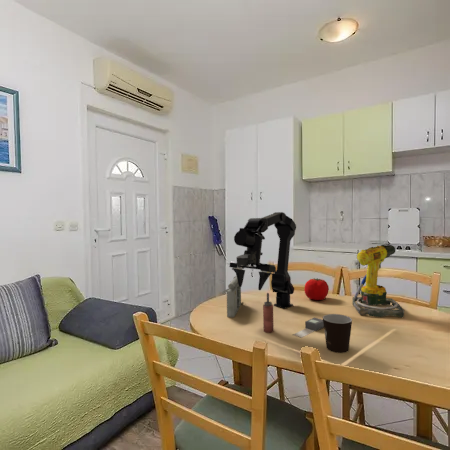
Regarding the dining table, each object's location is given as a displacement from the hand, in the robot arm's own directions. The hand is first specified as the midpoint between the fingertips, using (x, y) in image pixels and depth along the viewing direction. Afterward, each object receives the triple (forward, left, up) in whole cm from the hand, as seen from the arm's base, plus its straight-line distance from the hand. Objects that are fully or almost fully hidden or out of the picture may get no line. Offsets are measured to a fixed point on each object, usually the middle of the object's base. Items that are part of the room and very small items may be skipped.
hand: (249, 288), depth 123 cm
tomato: (-47, +1, -14) cm, 49 cm away
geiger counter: (-9, -18, -14) cm, 25 cm away
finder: (-12, +22, -13) cm, 28 cm away
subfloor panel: (-8, +17, -14) cm, 23 cm away
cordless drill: (-50, +29, -14) cm, 59 cm away
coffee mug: (-3, +36, -14) cm, 38 cm away
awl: (+3, +12, -14) cm, 18 cm away
